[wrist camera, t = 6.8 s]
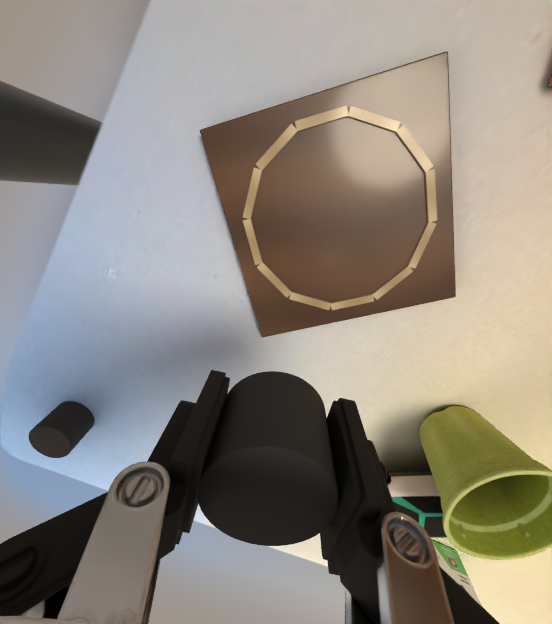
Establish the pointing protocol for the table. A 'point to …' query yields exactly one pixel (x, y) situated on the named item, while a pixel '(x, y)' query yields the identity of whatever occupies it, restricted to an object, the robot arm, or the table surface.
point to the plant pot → (487, 487)
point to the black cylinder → (61, 429)
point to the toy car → (417, 499)
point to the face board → (342, 198)
